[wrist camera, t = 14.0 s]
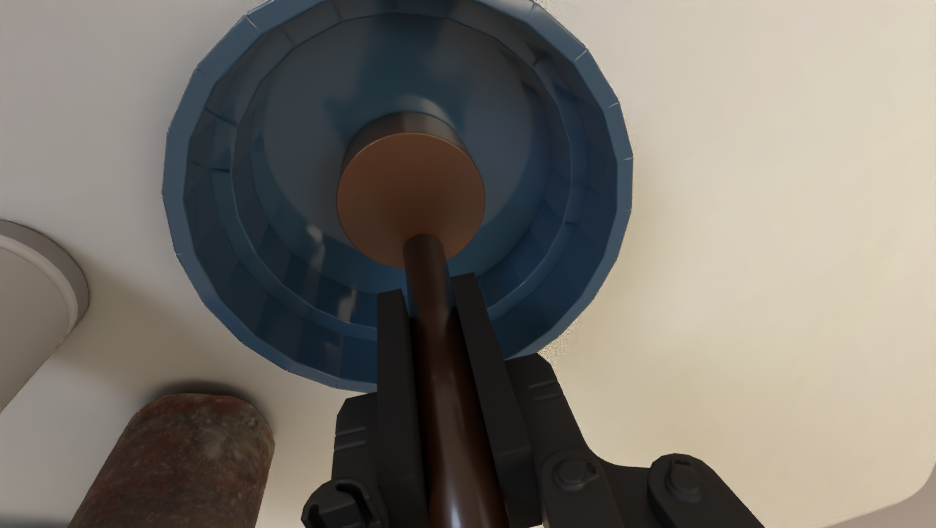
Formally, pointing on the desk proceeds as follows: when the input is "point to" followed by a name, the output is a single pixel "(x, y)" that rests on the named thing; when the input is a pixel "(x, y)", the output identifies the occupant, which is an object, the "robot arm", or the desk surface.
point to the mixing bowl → (323, 148)
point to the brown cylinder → (183, 467)
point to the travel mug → (34, 304)
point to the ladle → (428, 294)
